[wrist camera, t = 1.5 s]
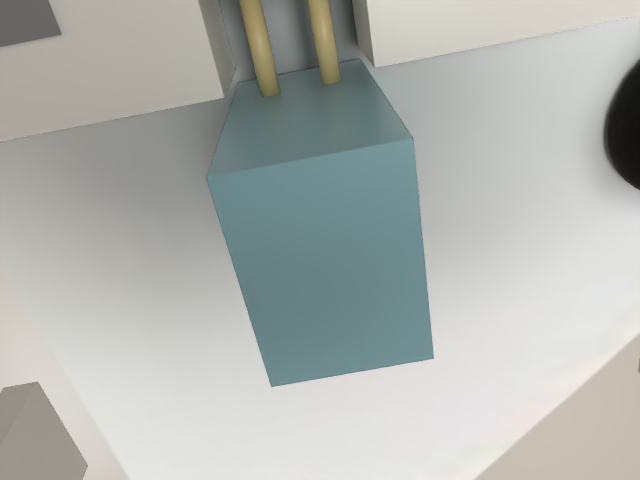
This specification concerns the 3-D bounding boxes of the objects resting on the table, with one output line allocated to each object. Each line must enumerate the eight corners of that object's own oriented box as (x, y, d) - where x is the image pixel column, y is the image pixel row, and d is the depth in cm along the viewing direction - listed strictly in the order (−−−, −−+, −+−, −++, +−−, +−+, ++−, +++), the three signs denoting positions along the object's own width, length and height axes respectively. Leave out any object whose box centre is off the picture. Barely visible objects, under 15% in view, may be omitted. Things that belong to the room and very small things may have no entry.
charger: (216, -3, 20) (162, 37, 11) (348, -30, 19) (399, -10, 11) (277, 233, 25) (272, 390, 16) (381, 214, 24) (434, 362, 16)
